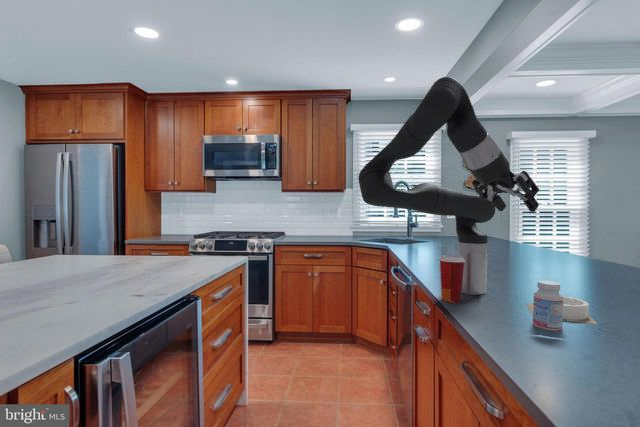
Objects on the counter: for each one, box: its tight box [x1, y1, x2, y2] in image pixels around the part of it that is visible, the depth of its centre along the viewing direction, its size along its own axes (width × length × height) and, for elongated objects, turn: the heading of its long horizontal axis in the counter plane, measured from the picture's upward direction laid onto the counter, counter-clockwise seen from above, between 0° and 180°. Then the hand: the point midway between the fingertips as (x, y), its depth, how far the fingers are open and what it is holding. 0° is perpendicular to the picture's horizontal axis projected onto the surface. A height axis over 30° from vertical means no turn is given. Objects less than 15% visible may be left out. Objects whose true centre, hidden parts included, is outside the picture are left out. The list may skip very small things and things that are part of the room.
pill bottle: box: [532, 280, 564, 331], centre depth 85 cm, size 6×6×11 cm
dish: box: [562, 295, 590, 320], centre depth 96 cm, size 11×11×4 cm
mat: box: [525, 302, 598, 325], centre depth 96 cm, size 14×14×1 cm
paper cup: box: [438, 254, 465, 304], centre depth 109 cm, size 8×8×14 cm
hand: (518, 209), depth 83 cm, fingers open, 8 cm apart
